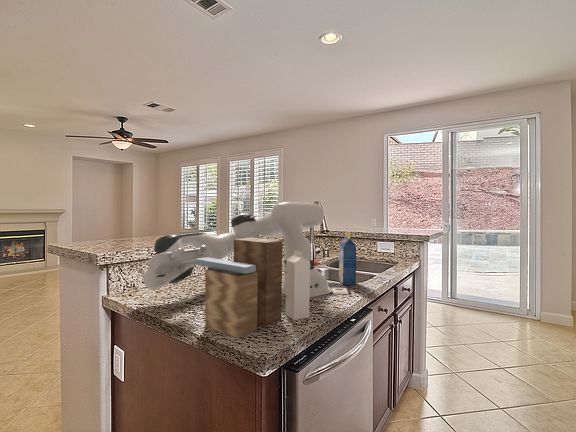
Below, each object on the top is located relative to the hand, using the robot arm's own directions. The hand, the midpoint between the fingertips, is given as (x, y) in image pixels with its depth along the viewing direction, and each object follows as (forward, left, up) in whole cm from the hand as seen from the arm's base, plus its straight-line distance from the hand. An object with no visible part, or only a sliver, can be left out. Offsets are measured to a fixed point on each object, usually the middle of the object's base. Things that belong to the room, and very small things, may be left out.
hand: (194, 248), depth 105 cm
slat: (-7, +13, -5) cm, 15 cm away
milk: (-32, +14, -23) cm, 42 cm away
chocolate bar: (-65, -10, -23) cm, 70 cm away
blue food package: (-75, -18, -23) cm, 81 cm away
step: (-9, +15, -23) cm, 29 cm away
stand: (-19, +11, -23) cm, 31 cm away
